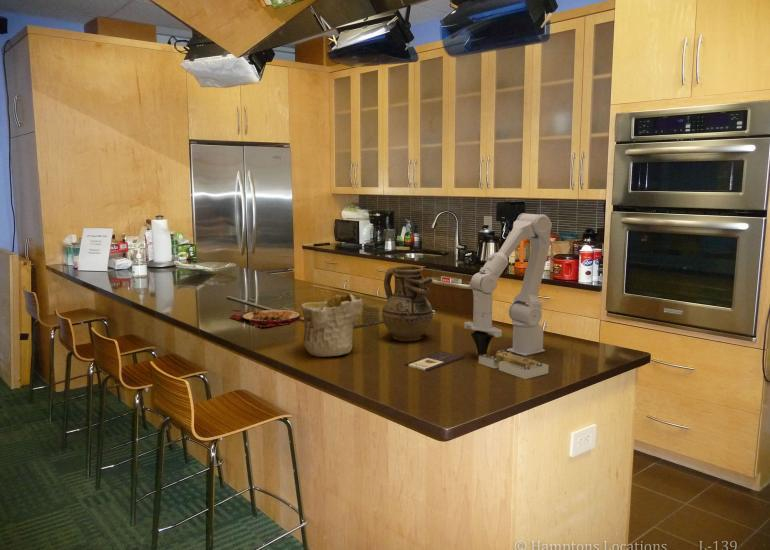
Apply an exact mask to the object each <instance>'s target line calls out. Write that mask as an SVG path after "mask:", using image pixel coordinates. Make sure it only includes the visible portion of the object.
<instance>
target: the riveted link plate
mask: <svg viewBox="0 0 770 550" xmlns="http://www.w3.org/2000/svg"><path fill="white" fill-rule="evenodd" d="M507 352H508V351H505V352H502V353H498V354H496V353H495V355H494V358H496V359H498V367H499V362H500V361H506V362H509V363H512V364H515V365H518V366H521V367H524V366H528V365H532V364H536V360H534V359H531V358H528V357H525V356H522V355H521V356H520V355H518V354H515V353H514V354H513V353H512V354H511V353H507Z"/></svg>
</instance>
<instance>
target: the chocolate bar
mask: <svg viewBox="0 0 770 550" xmlns="http://www.w3.org/2000/svg"><path fill="white" fill-rule="evenodd" d="M464 359H465V356H464V355H460V354H455V353H451V352H447V351H446V352H445V351H443V350H442V351H441V350H440V351H437V352H434V353H433V354H429V355H426V356H424V357H420V358H418V359H414V360H412V361H408V362H406V363H404V365H405V366H406V367H409V368H413V369H417V370H421V371H425V372H431V371H433V370H436V369H439V368H441V367H445V366H447V365H450V364H452V363H454V362H457V361H461V360H464Z"/></svg>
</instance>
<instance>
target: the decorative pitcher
mask: <svg viewBox="0 0 770 550" xmlns="http://www.w3.org/2000/svg"><path fill="white" fill-rule="evenodd" d="M423 271H424V268H423V267H422V266H418V265H417V266H416V265H415V266H414V265H402V266H393V267H390V268H388V269H387V270H386V272H385V274H384V278H383V288H384V292H385V296H386V300H387V301H385V303H384V305H383V308H382V312H381V317H382V321H383V324H384V325H385V327H386V329H387V330H388V332H389V333H390V334H392V338H393V339H394V340H396V341H401V342H415V341H419V340H420V339H422V336H423V334H425V333H426V332H427V331H428V329H429V328H430V326H431V325H432V322H433V317H434V311H433V308H432V304H431V303H430V301H429V300H428V299H427V297H426V296H427V295H429V294H430V289H429V288H428V287H427V286H428V285H431V284H432V283H433V278H431V277H427V278H425V277H424V276H423V274H422V273H423ZM392 277H394V291H393V290H392V286H391V280H392ZM421 335H422V336H421Z"/></svg>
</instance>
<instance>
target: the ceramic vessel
mask: <svg viewBox="0 0 770 550" xmlns="http://www.w3.org/2000/svg"><path fill="white" fill-rule="evenodd" d="M363 302H364V301H363V299H362V297H359V296H355V295H353V294H352V293H348V294H347V295H344V294H342V295H340V294H336V295H334V296H332V297H331V298H329V299H328V300H325V301H319V302H318V301H317V302H311V301H310V302H305V303H302V304H301V305H300V308H301V311H302V314H303V315H304V316H303V315H302V316H303V317H304V319H303V320H304V322H303V326H304V332H303V338H302V339H303V341H302V343H303V346H304V347H305V350H306V351H307V352H308V353H309V354H310V355H311V356H314V357H317V358H323V357H324V358H325V357H337V356H342V355H346V354H349V353H351V351H352V349H353V340H354V339H353V335H354V333H353V331H354V323H356V322H357V321H358V317H359V316H360V315H361V314H362V313H363V309H364V303H363Z"/></svg>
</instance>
